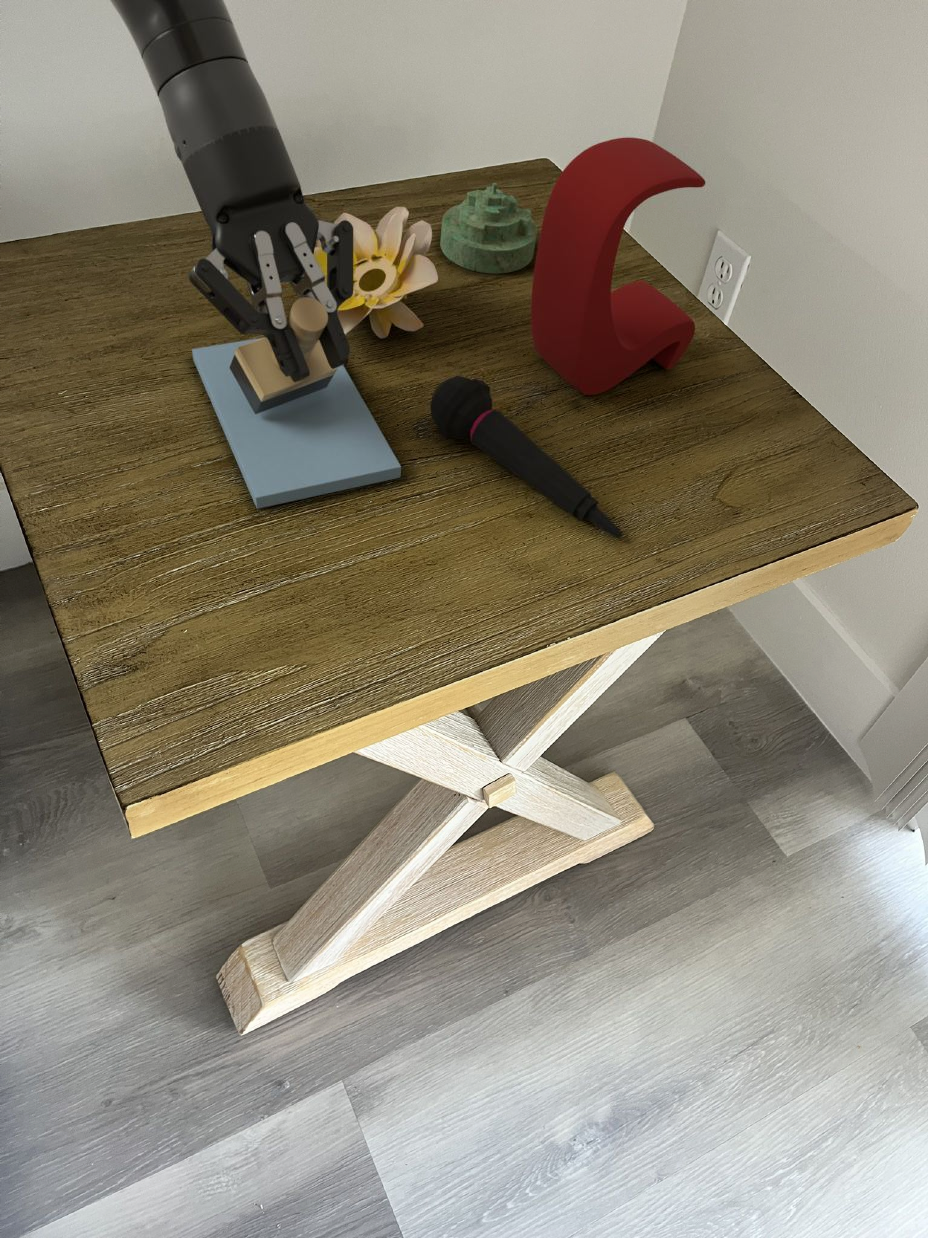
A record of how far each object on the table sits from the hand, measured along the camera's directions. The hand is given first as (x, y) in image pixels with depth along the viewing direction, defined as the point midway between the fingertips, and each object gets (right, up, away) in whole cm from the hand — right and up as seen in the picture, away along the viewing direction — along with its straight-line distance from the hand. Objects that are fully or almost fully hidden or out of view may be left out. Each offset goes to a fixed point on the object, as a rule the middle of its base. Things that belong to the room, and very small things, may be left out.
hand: (321, 370), depth 76 cm
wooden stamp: (-5, +1, +7) cm, 8 cm away
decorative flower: (+1, +11, +20) cm, 22 cm away
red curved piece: (+24, +5, +17) cm, 30 cm away
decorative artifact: (+13, +20, +29) cm, 38 cm away
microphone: (+15, -8, +6) cm, 18 cm away
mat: (-4, -2, +8) cm, 9 cm away
